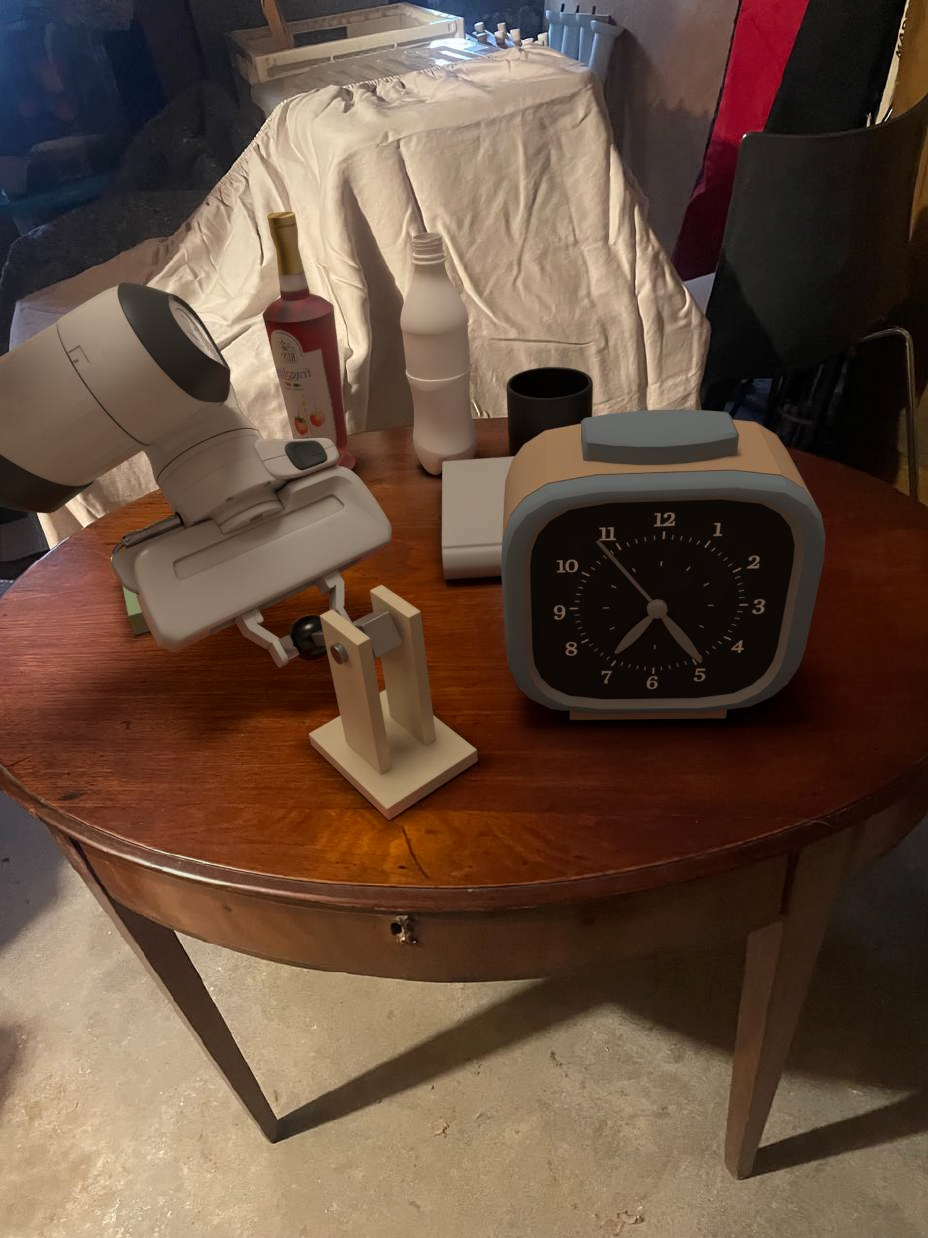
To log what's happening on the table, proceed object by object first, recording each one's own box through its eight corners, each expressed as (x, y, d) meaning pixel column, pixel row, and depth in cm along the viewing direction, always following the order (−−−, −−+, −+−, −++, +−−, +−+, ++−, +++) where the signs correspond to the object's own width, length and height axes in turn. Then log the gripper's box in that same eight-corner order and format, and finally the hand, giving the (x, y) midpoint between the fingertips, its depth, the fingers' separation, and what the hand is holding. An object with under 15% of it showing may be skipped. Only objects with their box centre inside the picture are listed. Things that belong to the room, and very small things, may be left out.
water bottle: (409, 458, 103) (383, 233, 88) (467, 447, 105) (451, 223, 90) (425, 485, 98) (400, 249, 83) (486, 472, 99) (472, 238, 84)
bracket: (310, 745, 66) (277, 607, 58) (396, 695, 70) (375, 559, 62) (389, 820, 59) (363, 677, 52) (478, 761, 63) (466, 619, 56)
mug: (549, 425, 108) (549, 353, 103) (608, 461, 99) (610, 384, 94) (483, 446, 105) (479, 372, 99) (537, 484, 96) (536, 406, 91)
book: (442, 461, 94) (667, 445, 93) (445, 492, 96) (665, 477, 95) (441, 552, 79) (709, 534, 78) (445, 587, 81) (704, 570, 81)
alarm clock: (509, 730, 66) (495, 469, 53) (511, 650, 73) (499, 405, 60) (792, 727, 64) (849, 457, 51) (763, 645, 71) (807, 392, 58)
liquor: (370, 465, 103) (333, 207, 86) (336, 494, 97) (290, 225, 81) (318, 456, 105) (272, 204, 89) (283, 484, 100) (227, 222, 84)
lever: (292, 668, 68) (273, 627, 68) (331, 648, 70) (312, 607, 69) (371, 672, 56) (348, 621, 55) (415, 647, 58) (394, 597, 57)
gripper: (100, 528, 60) (200, 703, 59) (348, 432, 70) (435, 581, 69) (97, 558, 65) (188, 719, 65) (327, 465, 75) (407, 604, 75)
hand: (317, 647), depth 67 cm, fingers closed on lever, 3 cm apart
